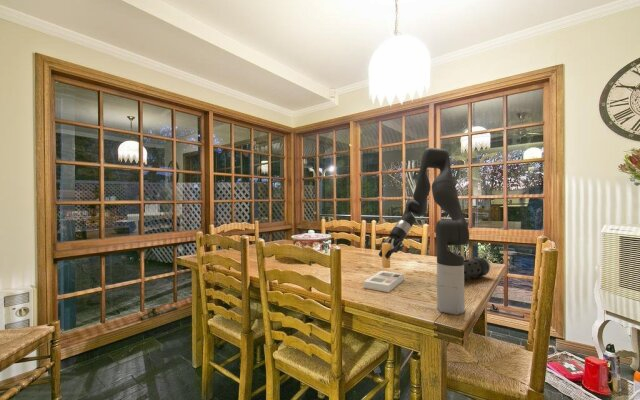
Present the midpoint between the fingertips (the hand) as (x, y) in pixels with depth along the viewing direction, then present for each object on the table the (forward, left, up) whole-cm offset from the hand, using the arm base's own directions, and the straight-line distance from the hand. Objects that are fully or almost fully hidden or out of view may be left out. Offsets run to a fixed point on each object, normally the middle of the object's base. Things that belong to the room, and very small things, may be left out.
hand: (383, 256), depth 141 cm
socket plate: (-4, -2, -12) cm, 13 cm away
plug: (+2, -1, -6) cm, 6 cm away
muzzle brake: (+23, -34, -13) cm, 43 cm away
